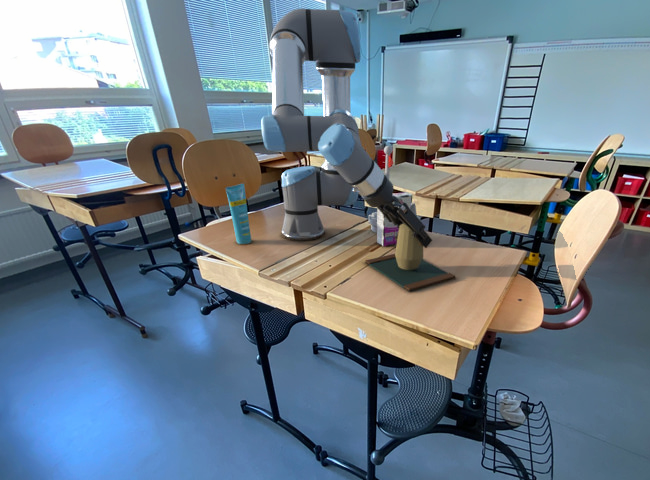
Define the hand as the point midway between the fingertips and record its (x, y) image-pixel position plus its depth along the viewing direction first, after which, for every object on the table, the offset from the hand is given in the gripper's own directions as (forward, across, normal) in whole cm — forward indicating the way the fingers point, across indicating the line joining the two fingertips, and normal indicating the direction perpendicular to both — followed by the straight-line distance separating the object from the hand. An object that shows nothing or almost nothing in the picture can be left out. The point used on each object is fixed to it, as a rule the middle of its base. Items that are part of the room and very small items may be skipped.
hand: (420, 239), depth 95 cm
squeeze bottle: (+3, 0, -8) cm, 8 cm away
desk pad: (+4, 0, -9) cm, 9 cm away
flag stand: (+15, -36, +3) cm, 39 cm away
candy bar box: (+11, -22, -2) cm, 25 cm away
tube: (-21, -48, -34) cm, 62 cm away
